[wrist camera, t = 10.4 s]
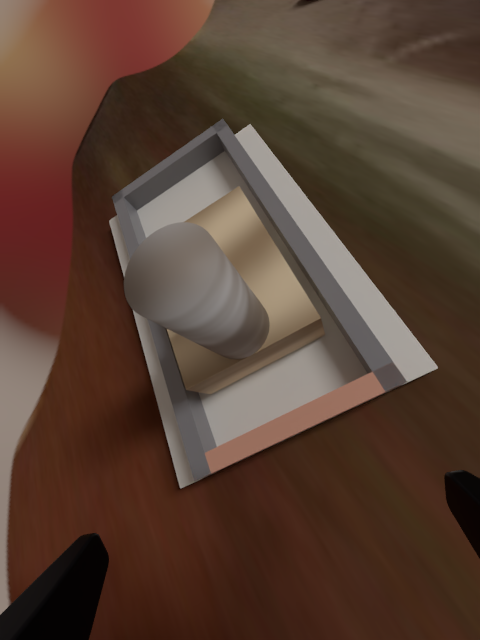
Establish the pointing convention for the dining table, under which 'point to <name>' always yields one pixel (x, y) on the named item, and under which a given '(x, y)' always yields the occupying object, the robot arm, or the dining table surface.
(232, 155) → the bay
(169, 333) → the cylinder on cream base
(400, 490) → the dining table surface
